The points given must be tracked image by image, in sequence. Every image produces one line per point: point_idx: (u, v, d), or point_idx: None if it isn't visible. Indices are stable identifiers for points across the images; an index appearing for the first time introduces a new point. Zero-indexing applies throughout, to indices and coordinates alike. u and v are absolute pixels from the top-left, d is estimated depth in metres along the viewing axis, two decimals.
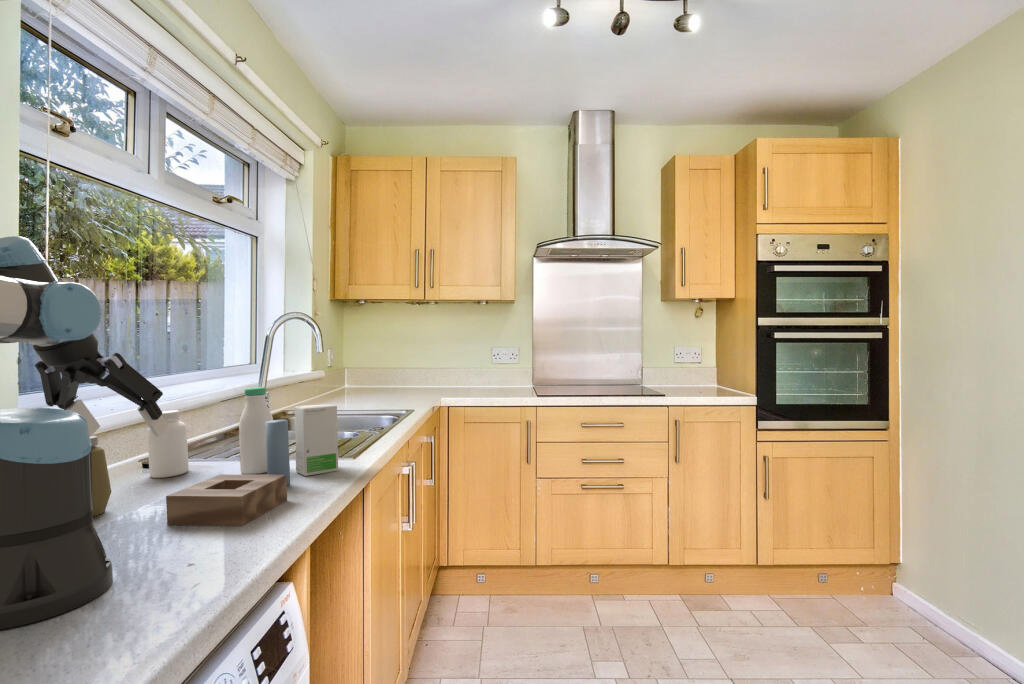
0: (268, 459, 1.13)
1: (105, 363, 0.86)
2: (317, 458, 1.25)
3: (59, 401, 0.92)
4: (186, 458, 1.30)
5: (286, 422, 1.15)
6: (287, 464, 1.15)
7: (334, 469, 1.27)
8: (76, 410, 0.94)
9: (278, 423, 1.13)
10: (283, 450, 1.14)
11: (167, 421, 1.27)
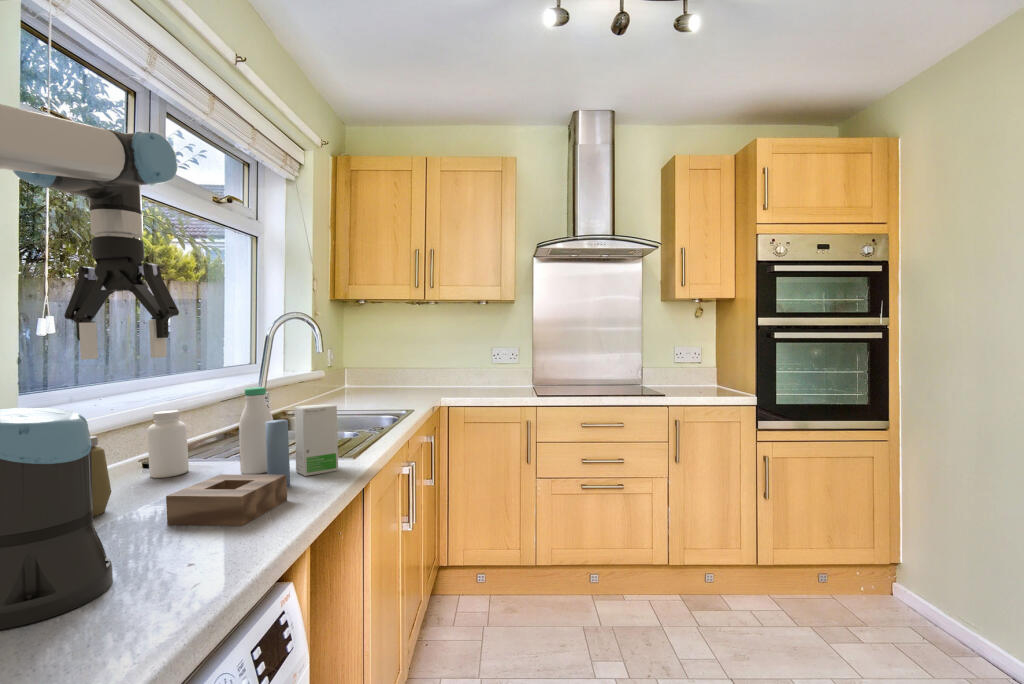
0: (268, 459, 1.13)
1: (144, 264, 0.94)
2: (317, 458, 1.25)
3: (78, 312, 0.95)
4: (186, 458, 1.30)
5: (286, 422, 1.15)
6: (287, 464, 1.15)
7: (334, 469, 1.27)
8: (87, 328, 0.96)
9: (278, 423, 1.13)
10: (283, 450, 1.14)
11: (167, 421, 1.27)
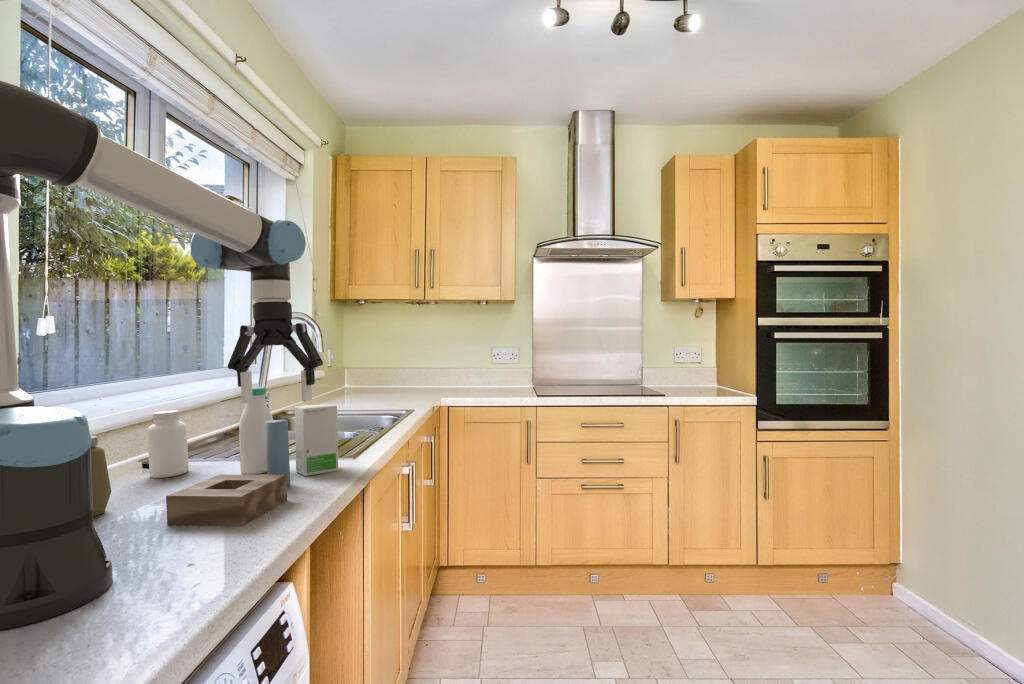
0: (268, 459, 1.13)
1: (297, 324, 1.13)
2: (317, 458, 1.25)
3: (239, 363, 1.15)
4: (186, 458, 1.30)
5: (286, 422, 1.15)
6: (287, 464, 1.15)
7: (334, 469, 1.27)
8: (246, 376, 1.15)
9: (278, 423, 1.13)
10: (283, 450, 1.14)
11: (167, 421, 1.27)
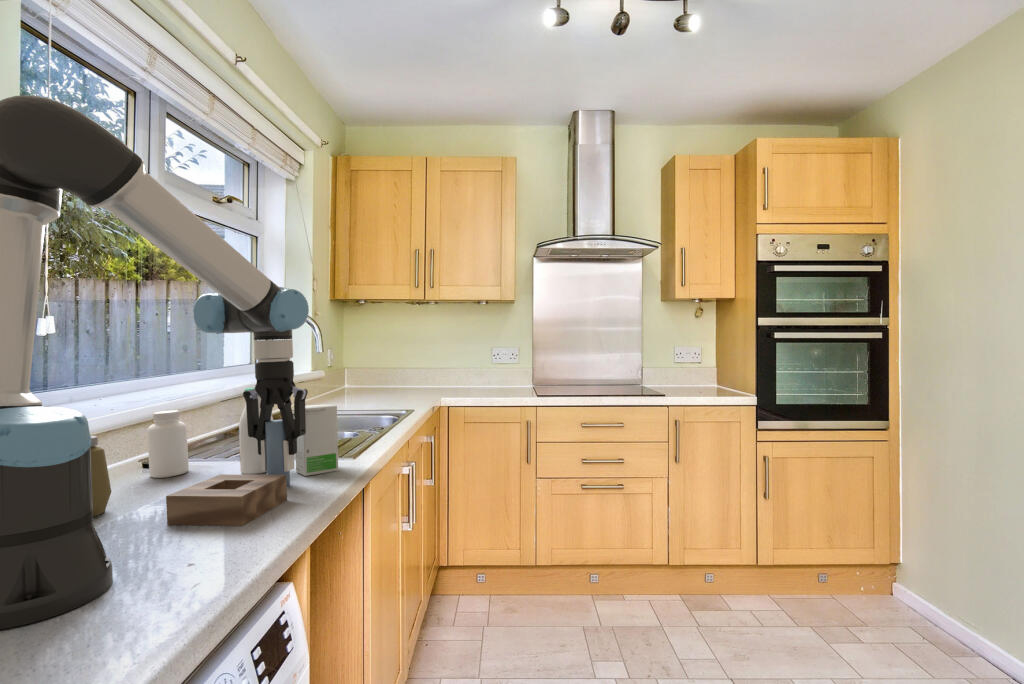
0: (268, 459, 1.13)
1: (298, 391, 1.13)
2: (317, 458, 1.25)
3: (257, 431, 1.14)
4: (186, 458, 1.30)
5: None
6: None
7: (334, 469, 1.27)
8: None
9: (278, 423, 1.13)
10: (283, 450, 1.14)
11: (167, 421, 1.27)
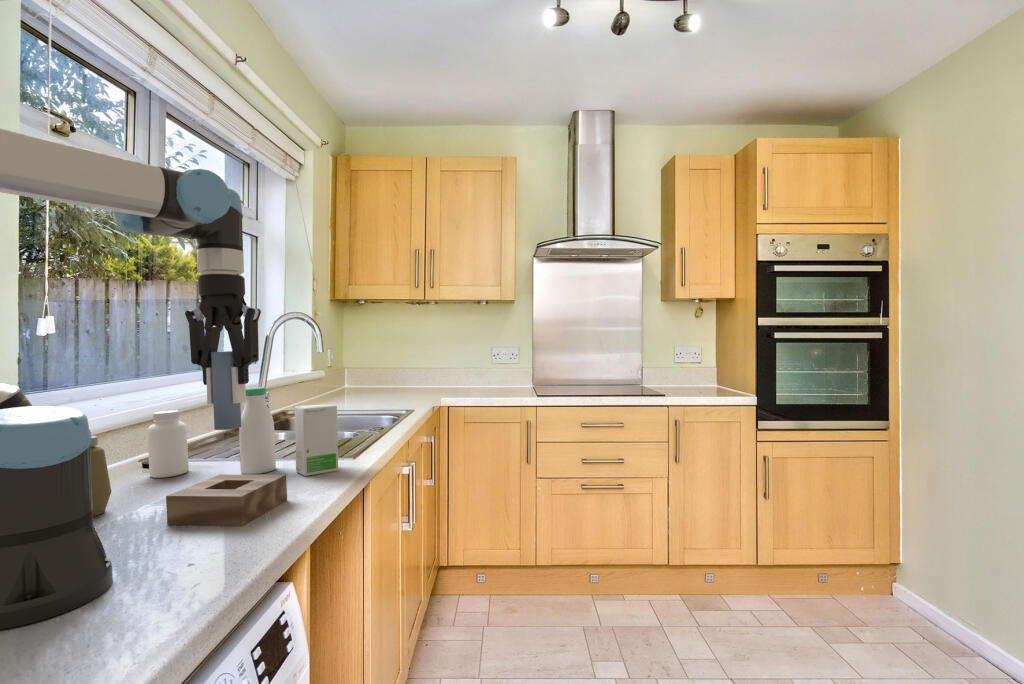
0: (214, 394, 0.97)
1: (249, 309, 0.97)
2: (317, 458, 1.25)
3: (202, 357, 0.98)
4: (186, 458, 1.30)
5: None
6: None
7: (334, 469, 1.27)
8: None
9: (226, 352, 0.97)
10: (231, 384, 0.98)
11: (167, 421, 1.27)
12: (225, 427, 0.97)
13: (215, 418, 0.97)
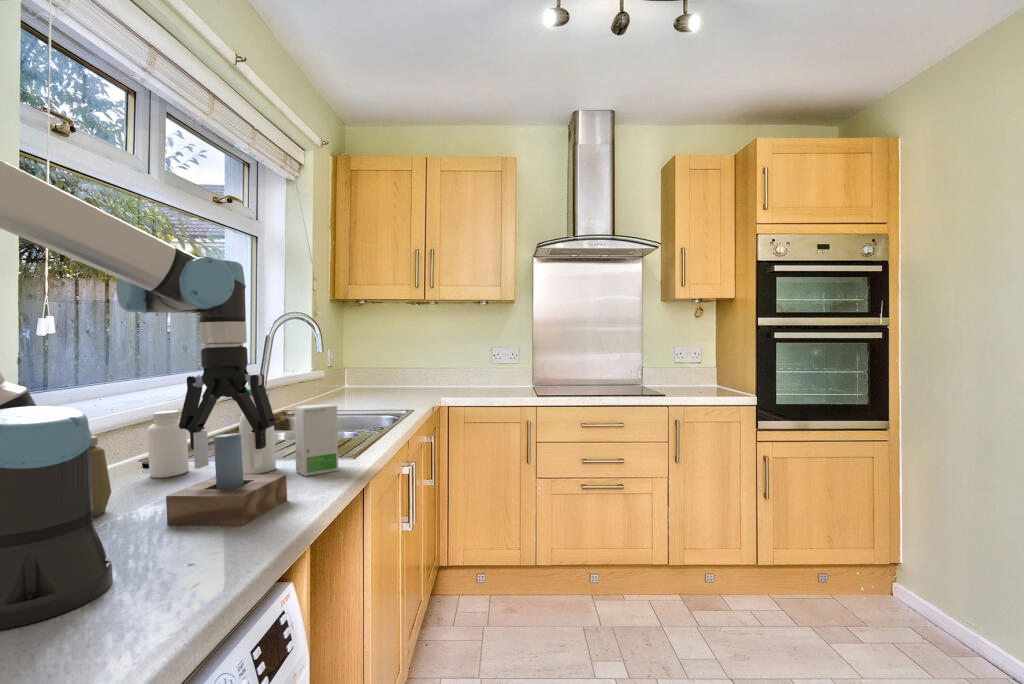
0: (217, 480, 0.97)
1: (252, 376, 0.97)
2: (317, 458, 1.25)
3: (191, 422, 0.99)
4: (186, 458, 1.30)
5: (238, 436, 0.99)
6: (240, 485, 0.99)
7: (334, 469, 1.27)
8: (200, 437, 0.99)
9: (228, 438, 0.97)
10: (234, 469, 0.98)
11: (167, 421, 1.27)
12: None
13: None
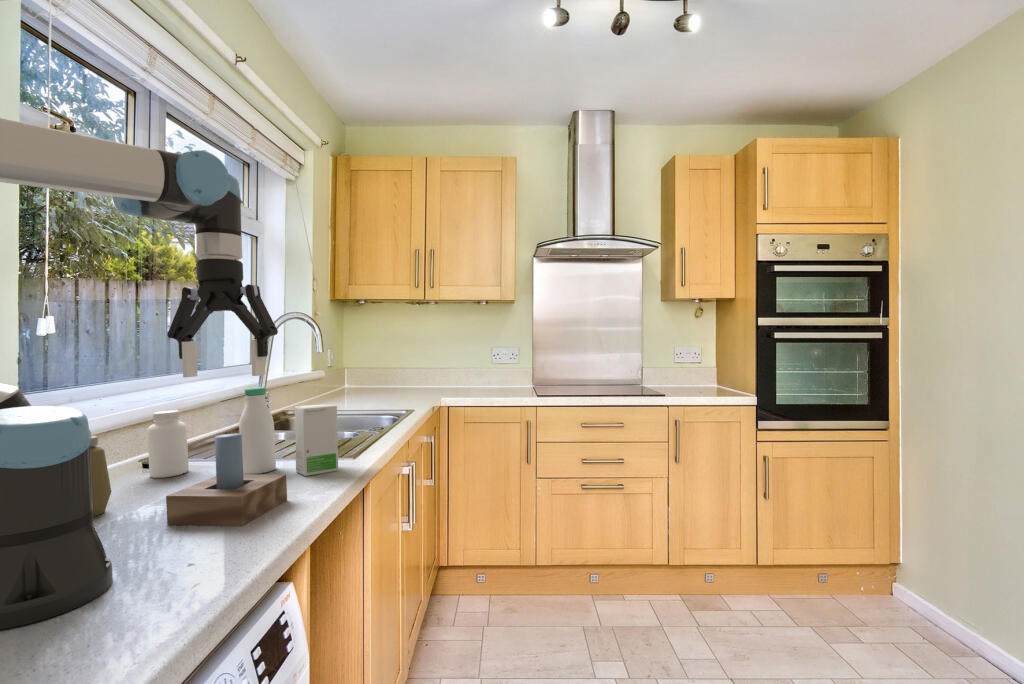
0: (218, 480, 0.97)
1: (247, 286, 0.97)
2: (317, 458, 1.25)
3: (181, 331, 0.99)
4: (186, 458, 1.30)
5: (239, 437, 0.99)
6: (240, 485, 0.99)
7: (334, 469, 1.27)
8: (189, 346, 0.99)
9: (229, 438, 0.97)
10: (235, 469, 0.98)
11: (167, 421, 1.27)
12: None
13: None
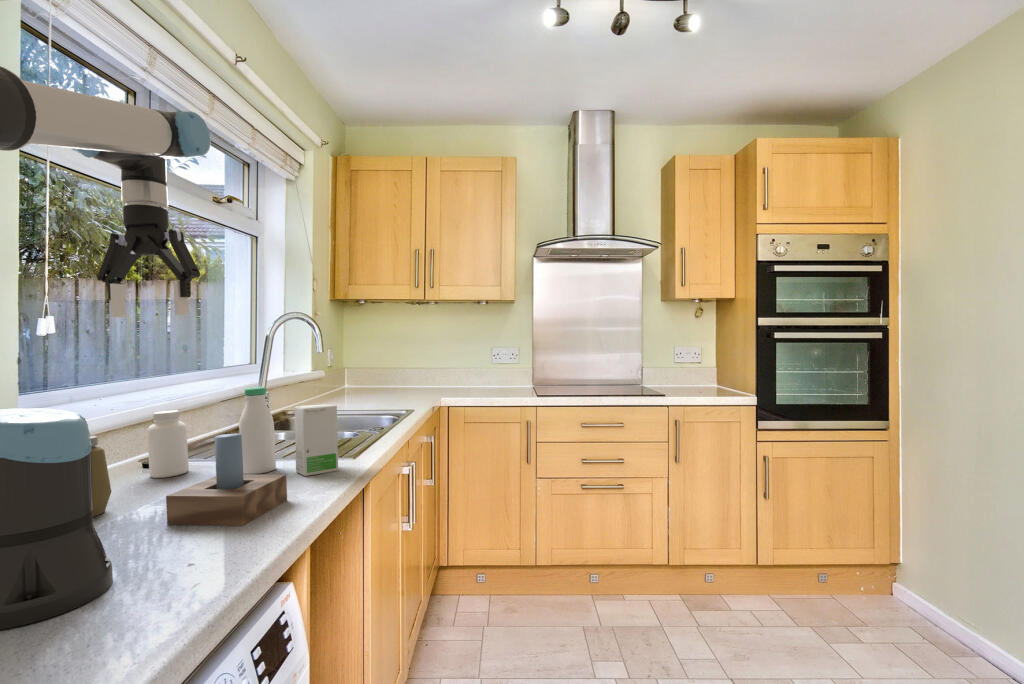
0: (218, 480, 0.97)
1: (170, 230, 1.04)
2: (317, 458, 1.25)
3: (109, 274, 1.06)
4: (186, 458, 1.30)
5: (239, 437, 0.99)
6: (240, 485, 0.99)
7: (334, 469, 1.27)
8: (117, 288, 1.06)
9: (229, 438, 0.97)
10: (235, 469, 0.98)
11: (167, 421, 1.27)
12: None
13: None
